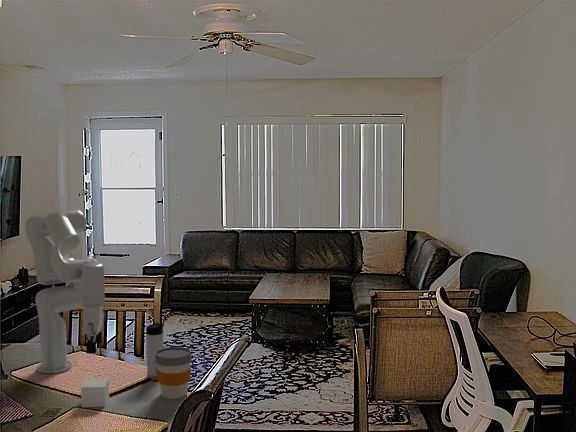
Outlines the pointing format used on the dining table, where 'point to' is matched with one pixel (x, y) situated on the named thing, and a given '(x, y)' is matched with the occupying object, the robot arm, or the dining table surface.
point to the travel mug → (153, 347)
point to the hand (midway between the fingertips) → (94, 348)
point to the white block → (95, 392)
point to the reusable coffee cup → (173, 371)
